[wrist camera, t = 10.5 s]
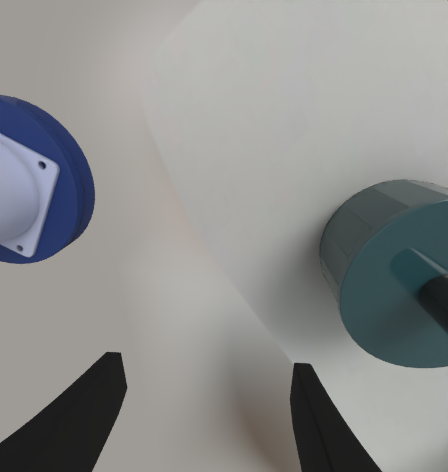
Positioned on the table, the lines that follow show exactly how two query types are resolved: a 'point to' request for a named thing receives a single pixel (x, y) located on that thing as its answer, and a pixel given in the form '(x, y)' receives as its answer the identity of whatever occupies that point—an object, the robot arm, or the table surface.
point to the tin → (367, 220)
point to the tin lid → (401, 288)
